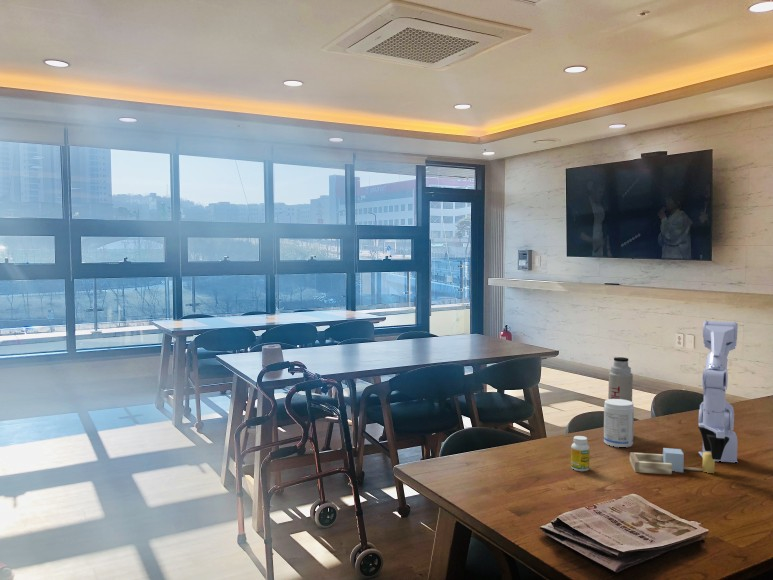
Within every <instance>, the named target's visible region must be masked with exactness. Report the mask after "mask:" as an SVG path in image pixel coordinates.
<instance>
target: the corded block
mask: <svg viewBox="0 0 773 580" xmlns="http://www.w3.org/2000/svg"><path fill="white" fill-rule="evenodd" d="M702 452H703V451H702ZM662 454H663V463H671V464H672V471H675V472H674V473H684V470H686V471H687V470H689V471H698V472H700V471H701V472H702V473H704V472H707V473H706V474H708V473H713V474H715V464H716V461H715V459H712V455H711V453H710V452H703V458H702V468H700V467H699V468H698V467H690V466H689V467H687V466H684V463H685V462H684V461H685V460H684V459H685V454H684V452H683V450H682V448H672V447H671V448H669V447H668V448H667V447H663V448H662Z"/></svg>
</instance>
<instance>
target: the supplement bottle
mask: <svg viewBox="0 0 773 580" xmlns="http://www.w3.org/2000/svg"><path fill="white" fill-rule="evenodd" d="M572 441H573V443H572V444H571V446H570V457H571V458H570V467H571V469H572V470H573V469H574V470H573V471H576V472H577V471H578V472H587V471H589V470H590V457H591V456H590V455H591V454H590V450H591V448H590V447H591V446H589V444H588V437H587V436H583V435H575V436H573V440H572Z"/></svg>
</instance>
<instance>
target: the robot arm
mask: <svg viewBox="0 0 773 580" xmlns="http://www.w3.org/2000/svg"><path fill="white" fill-rule="evenodd" d="M738 328H739V327H738V323H737V322H736V321H721V320H720V321H719V320H718V321H717V320H716V321H715V320H707V319H705V320H704V321H703V323H702V338H703V344H704V347H705V348H707V349H708V350H710V352H709V353H708V354H706V360H705V368H704V370H703V371H702V381H701V382H702V383H701V384H702V395H703V400H702V402H701V403H700V404H699V410H698V424H697V425H698V427H697V428H698V430H699V432H700V434H701V438H702V451H698V452H697V453H698V454H699V456H700V457H701V458H702V459H703V452H710V453H711V455H712V459H715V462H719V461H721V463H722V462H723V463H735V462H737V463H739V462H738V437H737V434H736V432H735V431H734V426H735V425H734V423H735V411H734V410H735V409H734V407H733V405H731V403H729V402H728V401H727V400H726V392H727V389H728V385H729V384H728V383H729V381H728V379H729V375H728V359H729V358H728V356H729V354H730V352H731V351H733V350H736V347H737V343H738Z"/></svg>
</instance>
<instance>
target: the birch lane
mask: <svg viewBox="0 0 773 580" xmlns="http://www.w3.org/2000/svg"><path fill="white" fill-rule="evenodd" d="M629 463H630V465H631V467H632V469H633V471H634V473H644V474H645V473H647V474H658V475H672V473H673V472H672V464H671V463H663V453H662V454H661V453H649V452H647V453H646V452H645V453H644V452H629Z"/></svg>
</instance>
